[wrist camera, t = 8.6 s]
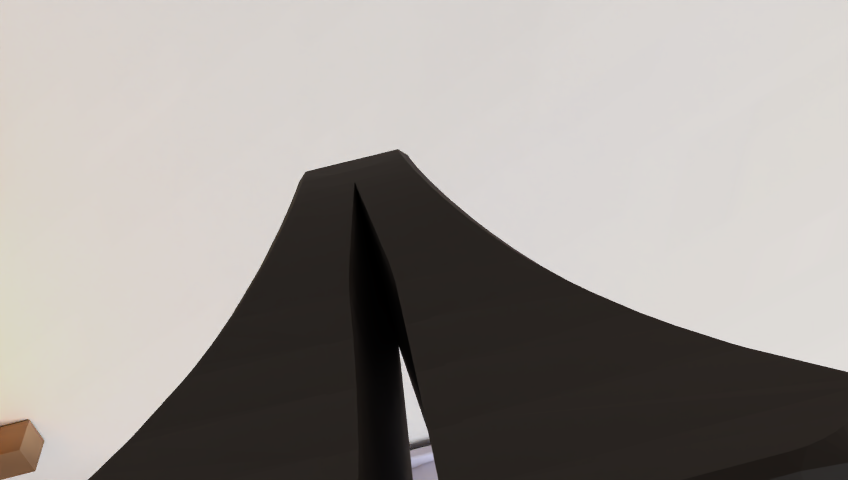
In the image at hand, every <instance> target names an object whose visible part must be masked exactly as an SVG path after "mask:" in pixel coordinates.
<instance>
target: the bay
mask: <svg viewBox="0 0 848 480" xmlns="http://www.w3.org/2000/svg"><path fill="white" fill-rule="evenodd" d="M43 444H44V440H43V438H42V437H41V435H40V434H39V433H38V431H37V430H36V428H35V427H34V426H33V424H32V423H31V421H30V420H27V421H23V422H19V423H15V424H11V425H7V426H3V427H0V480H2V479H6V478H10V477H14V476H18V475H21V474H25V473H29V472H33V471H35V470H36V467H37V463H38V460H39V457H40V453H41V450H42V447H43Z"/></svg>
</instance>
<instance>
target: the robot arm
mask: <svg viewBox="0 0 848 480" xmlns="http://www.w3.org/2000/svg"><path fill="white" fill-rule="evenodd" d="M399 348H400V351H401V354H402V356H403V359H404V362H405V365H406V368H407V371H408V374H409V377H410V380H411V383H412V386H413V389H414V392H415V394H416V397H417V400H418V403H419V406H420V409H421V412H422V415H423V418H424V421H425V424H426V426H427V429H428V433H429V438H430V442H431V445H429V446H425V447H421V448H417V449H414V450H410V447H409V438H408V428H407V419H406V409H405V400H404V390H403V381H402V372H401V363H400V354H399ZM88 480H848V372H845V371H841V370H837V369H832V368H828V367H824V366H820V365H816V364H812V363H808V362H803V361H799V360H795V359H791V358H787V357H783V356H778V355H774V354H770V353H766V352H762V351H758V350H754V349H749V348H745V347H742V346H738V345H735V344H731V343H728V342H725V341H722V340H719V339H715V338H712V337H709V336H706V335H703V334H700V333H697V332H693V331H690V330H687V329H684V328H681V327H678V326H675V325H672V324H669V323H667V322H664V321H661V320H658V319H656V318H653V317H650V316H647V315H645V314H642V313H639V312H637V311H634V310H632V309H630V308H627V307H625V306H623V305H620V304H618V303H616V302H613V301H611V300H609V299H606V298H604V297H602V296H599V295H597V294H595V293H592V292H590V291H588V290H586V289H584V288H582V287H580V286H578V285H575V284H573V283H571V282H569V281H567V280H565V279H564V278H562V277H560V276H558V275H556V274H555V273H553V272H551V271H549V270H547V269H546V268H544V267H542V266H540V265H539V264H537V263H536V262H534V261H532V260H531V259H529V258H527V257H526V256H524V255H523V254H521V253H520V252H518V251H517V250H515V249H514V248H512V247H511V246H509V245H508V244H506V243H505V242H504V241H502V240H501V239H499V238H498V237H496V236H495V235H494V234H492V233H491V232H489V231H488V230H487V229H485V228H484V227H483V226H482V225H480V224H479V223H478V222H476V221H475V220H474V219H473V218H471V217H470V216H469V215H468V214H467V213H465V212H464V211H463V210H462V209H461V208H459V207H458V206H457V205H456V204H455V203H453V202H452V201H451V200H450V199H449V198H448V197H447V196H445V195H444V194H443V193H442V192H441V191H440V190H439V189H438V188H437V187H436V186H435V185H434V184H433V183H432V182H431V181H430V180H429V179H428V178H427V177H426V176H425V175H424V174H423V173H422V172H421V171H420V170H419V169H418V168H417V167H416V165H415V164H414V163H413V162H412V161H411V159H410V158H409V156H408V155H406V154H405V153H403V152H401V151H400V150H398V149H397V150H393V151H389V152H385V153H381V154H377V155H373V156H369V157H364V158H360V159H356V160H352V161H348V162H344V163H340V164H336V165H331V166H327V167H323V168H319V169H315V170H311V171H307V172H305V174H304V175H303V177H302V178H301V180H300V182H299V184H298V187H297V190H296V192H295V195H294V197H293V200H292V202H291V204H290V207H289V209H288V212H287V214H286V216H285V218H284V220H283V223H282V225H281V227H280V229H279V231H278V233H277V235H276V237H275V239H274V241H273V243H272V245H271V247H270V249H269V251H268V253H267V255H266V257H265V259H264V261H263V263H262V265H261V267H260V269H259V271H258V272H257V274H256V276H255V278H254V279H253V281H252V283H251V284H250V286H249V288H248V289H247V291H246V293H245V294H244V296H243V298H242V299H241V301H240V303H239V304H238V306H237V308H236V309H235V311H234V313H233V314H232V316H231V317H230V319H229V320H228V322H227V323H226V325H225V326H224V328H223V329H222V331H221V332H220V334H219V335H218V337H217V338H216V339H215V341H214V342H213V344H212V345H211V346H210V348H209V349H208V350H207V352H206V353H205V354H204V355H203V357H202V358H201V359H200V361H199V362H198V363H197V365H196V366H195V367H194V368H193V370H192V371H191V372H190V373H189V374H188V376H187V377H186V378H185V379H184V380H183V382H182V383H181V384H180V385H179V386H178V387H177V388H176V389H175V390H174V391H173V393H172V394H171V395H170V396H169V397H168V398H167V399H166V400H165V401H164V402H163V404H162V405H161V406H160V407H159V408H158V409H157V410H156V411H155V412H154V414H153V415H152V416H151V417H150V418H149V419H148V420H147V421H146V422H145V423H144V425H143V426H142V427H141V428H140V429H139V430H138V431H137V432H136V433H135V434H134V436H133V437H132V438H131V439H130V440H129V441H128V442H127V443H126V444H125V445H124V446H123V447H122V448H121V449H120V450H118V451H117V452H116V453H115V454H114V455H113V456H112V457H111V458H110V459H109V460H108V461H107V462H106V463H105V464H104V465H103V466H102V467H101V468H100V469H99V470H98V471H97V472H96V473H95V474H94V475H93V476H92V477H90V478H89V479H88Z"/></svg>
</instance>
